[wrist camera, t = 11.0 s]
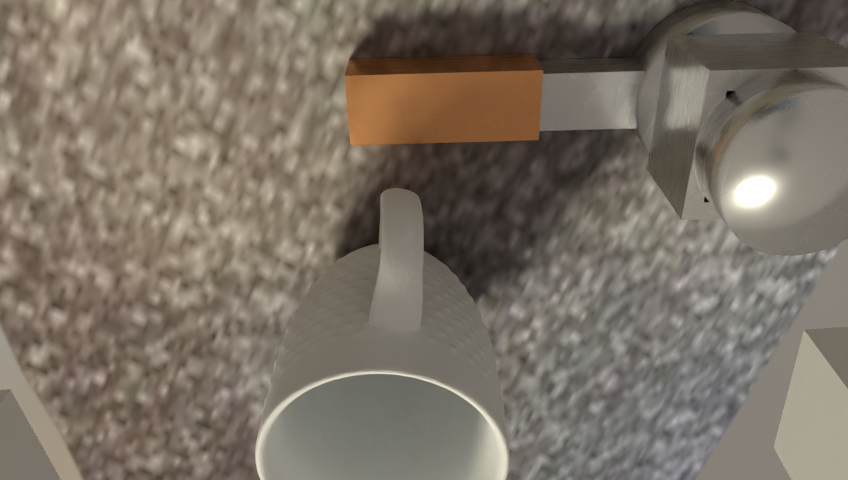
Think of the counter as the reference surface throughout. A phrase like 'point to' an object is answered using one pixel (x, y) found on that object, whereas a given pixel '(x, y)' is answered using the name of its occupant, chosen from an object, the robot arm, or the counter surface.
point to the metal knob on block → (756, 137)
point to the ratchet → (526, 87)
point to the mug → (385, 370)
